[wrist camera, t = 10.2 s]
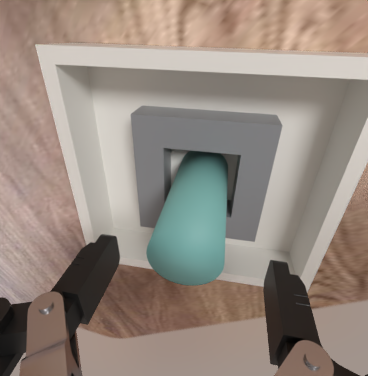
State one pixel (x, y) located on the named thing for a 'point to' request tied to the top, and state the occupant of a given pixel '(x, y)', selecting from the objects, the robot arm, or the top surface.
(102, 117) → the bin
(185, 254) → the peg
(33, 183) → the top surface
